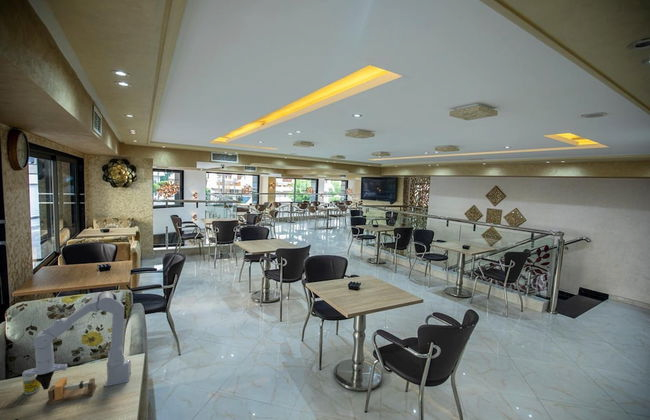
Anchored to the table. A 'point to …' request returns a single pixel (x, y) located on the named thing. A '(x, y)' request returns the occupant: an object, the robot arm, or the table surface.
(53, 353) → the robot arm
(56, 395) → the collar
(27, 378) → the supplement bottle
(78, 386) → the rod
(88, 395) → the stand
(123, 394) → the table surface
